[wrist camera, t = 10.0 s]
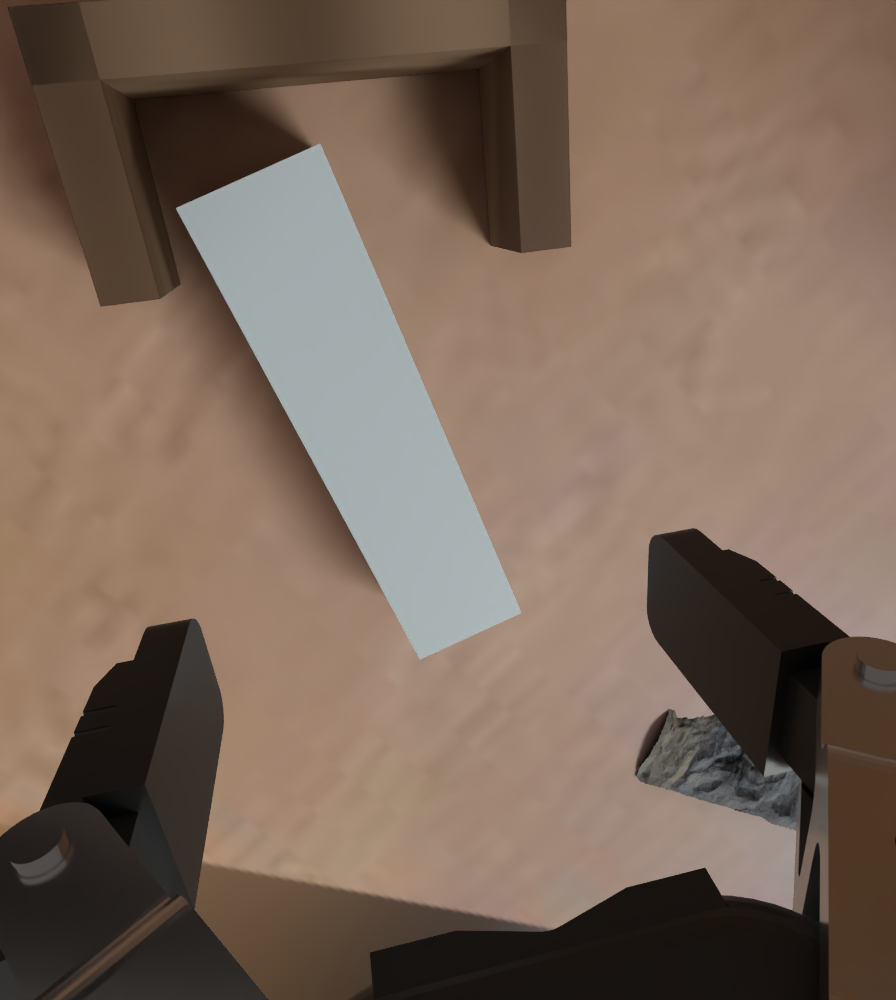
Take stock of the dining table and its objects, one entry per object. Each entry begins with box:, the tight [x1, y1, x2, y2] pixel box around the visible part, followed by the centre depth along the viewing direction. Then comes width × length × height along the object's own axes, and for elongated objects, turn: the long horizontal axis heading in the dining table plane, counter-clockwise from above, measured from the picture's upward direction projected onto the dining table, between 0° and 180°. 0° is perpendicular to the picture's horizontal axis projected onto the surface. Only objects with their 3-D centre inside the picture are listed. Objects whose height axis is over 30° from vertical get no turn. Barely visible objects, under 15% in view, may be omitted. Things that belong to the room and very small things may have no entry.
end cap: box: [8, 0, 571, 306], centre depth 19 cm, size 13×6×4 cm, turn 96°
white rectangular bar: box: [176, 144, 521, 659], centre depth 22 cm, size 4×16×4 cm, turn 22°
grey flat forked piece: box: [637, 709, 801, 831], centre depth 37 cm, size 21×7×2 cm, turn 58°
